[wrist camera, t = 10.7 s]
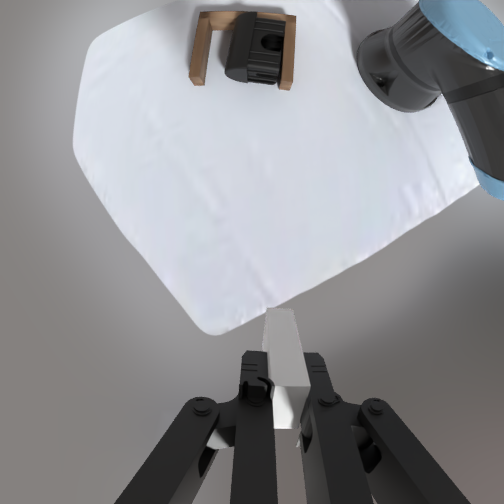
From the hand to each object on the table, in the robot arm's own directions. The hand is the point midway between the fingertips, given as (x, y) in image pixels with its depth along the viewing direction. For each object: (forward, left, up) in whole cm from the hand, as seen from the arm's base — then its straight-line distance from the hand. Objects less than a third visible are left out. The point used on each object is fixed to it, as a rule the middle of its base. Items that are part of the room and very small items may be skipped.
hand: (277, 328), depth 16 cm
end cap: (+3, -28, -26) cm, 38 cm away
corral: (+5, -28, -26) cm, 39 cm away
